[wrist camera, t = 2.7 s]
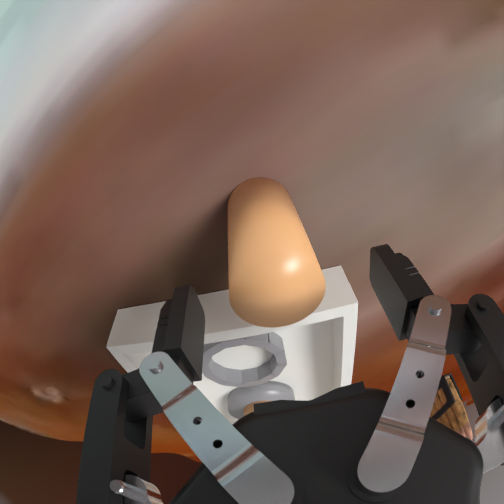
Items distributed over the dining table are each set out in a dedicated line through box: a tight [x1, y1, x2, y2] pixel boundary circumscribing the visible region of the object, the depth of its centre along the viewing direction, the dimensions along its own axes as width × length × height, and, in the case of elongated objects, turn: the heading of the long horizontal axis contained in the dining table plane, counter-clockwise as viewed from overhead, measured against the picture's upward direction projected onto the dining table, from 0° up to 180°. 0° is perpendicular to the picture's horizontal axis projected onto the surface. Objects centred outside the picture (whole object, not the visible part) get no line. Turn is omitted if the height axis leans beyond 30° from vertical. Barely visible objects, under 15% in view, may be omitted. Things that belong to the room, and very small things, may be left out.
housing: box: [106, 265, 358, 425], centre depth 25 cm, size 18×22×9 cm
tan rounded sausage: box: [227, 177, 326, 328], centre depth 16 cm, size 4×4×8 cm
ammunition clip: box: [430, 373, 472, 440], centre depth 34 cm, size 11×2×12 cm, turn 179°
